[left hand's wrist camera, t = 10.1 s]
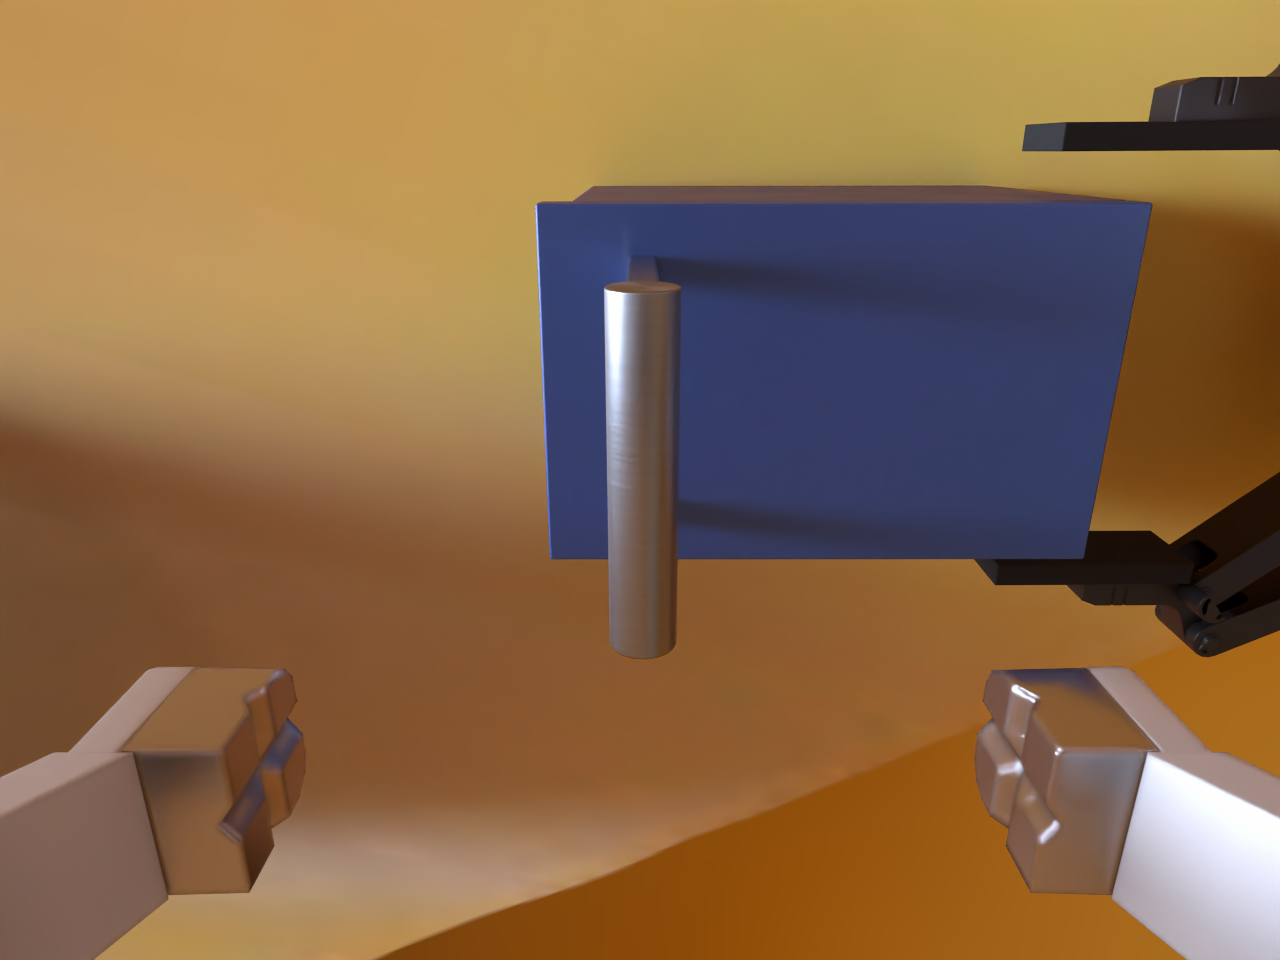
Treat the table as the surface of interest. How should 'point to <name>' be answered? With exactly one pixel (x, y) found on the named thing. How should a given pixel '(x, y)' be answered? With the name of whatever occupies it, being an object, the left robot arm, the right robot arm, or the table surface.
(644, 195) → the chest
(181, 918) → the table surface
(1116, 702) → the left robot arm
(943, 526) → the lid
